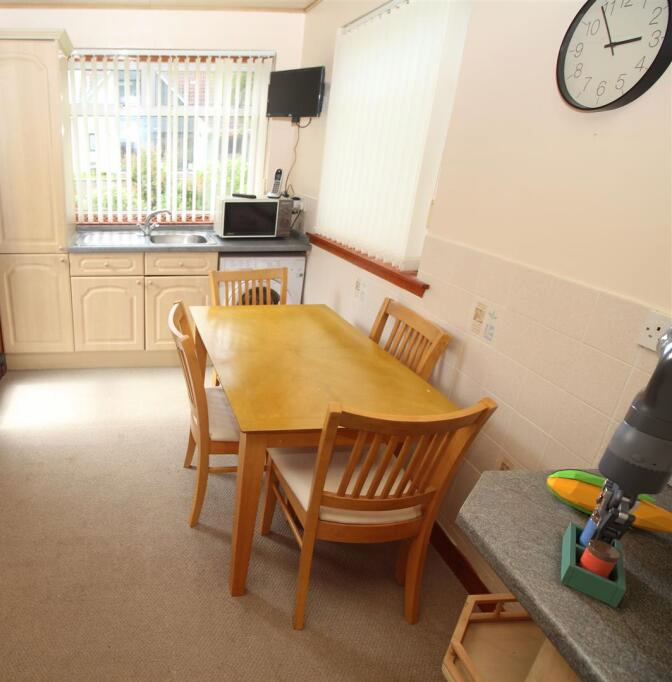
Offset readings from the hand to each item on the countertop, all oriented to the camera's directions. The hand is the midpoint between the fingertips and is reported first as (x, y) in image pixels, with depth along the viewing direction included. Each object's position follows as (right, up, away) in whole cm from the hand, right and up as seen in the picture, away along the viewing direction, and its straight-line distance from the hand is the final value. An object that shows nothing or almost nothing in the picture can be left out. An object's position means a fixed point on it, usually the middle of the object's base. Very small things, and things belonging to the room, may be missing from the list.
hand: (595, 540), depth 77 cm
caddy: (-2, -5, -1) cm, 5 cm away
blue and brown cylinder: (0, -1, 0) cm, 1 cm away
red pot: (-4, -5, -3) cm, 7 cm away
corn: (+13, -1, +11) cm, 17 cm away
